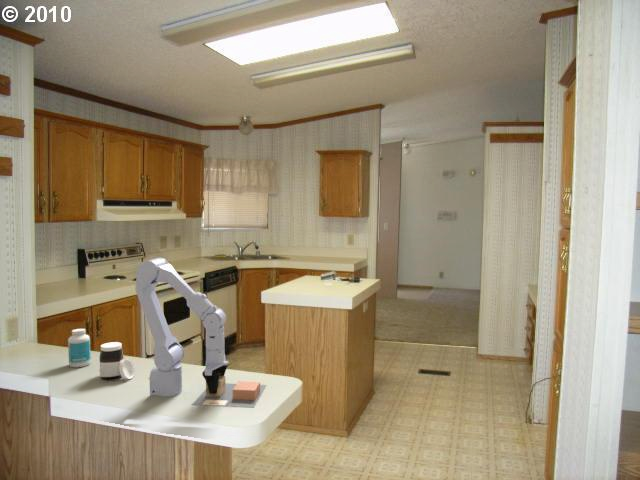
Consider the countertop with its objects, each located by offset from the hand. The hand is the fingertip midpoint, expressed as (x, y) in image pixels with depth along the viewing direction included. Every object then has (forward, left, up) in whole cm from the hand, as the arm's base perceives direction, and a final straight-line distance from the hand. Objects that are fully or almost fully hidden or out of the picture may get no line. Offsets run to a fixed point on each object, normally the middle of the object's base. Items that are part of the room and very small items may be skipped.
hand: (215, 390), depth 153 cm
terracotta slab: (+10, 0, -1) cm, 10 cm away
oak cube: (0, 0, -1) cm, 1 cm away
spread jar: (-40, +13, -2) cm, 42 cm away
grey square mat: (+5, 0, -2) cm, 5 cm away
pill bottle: (-61, +24, -2) cm, 66 cm away
